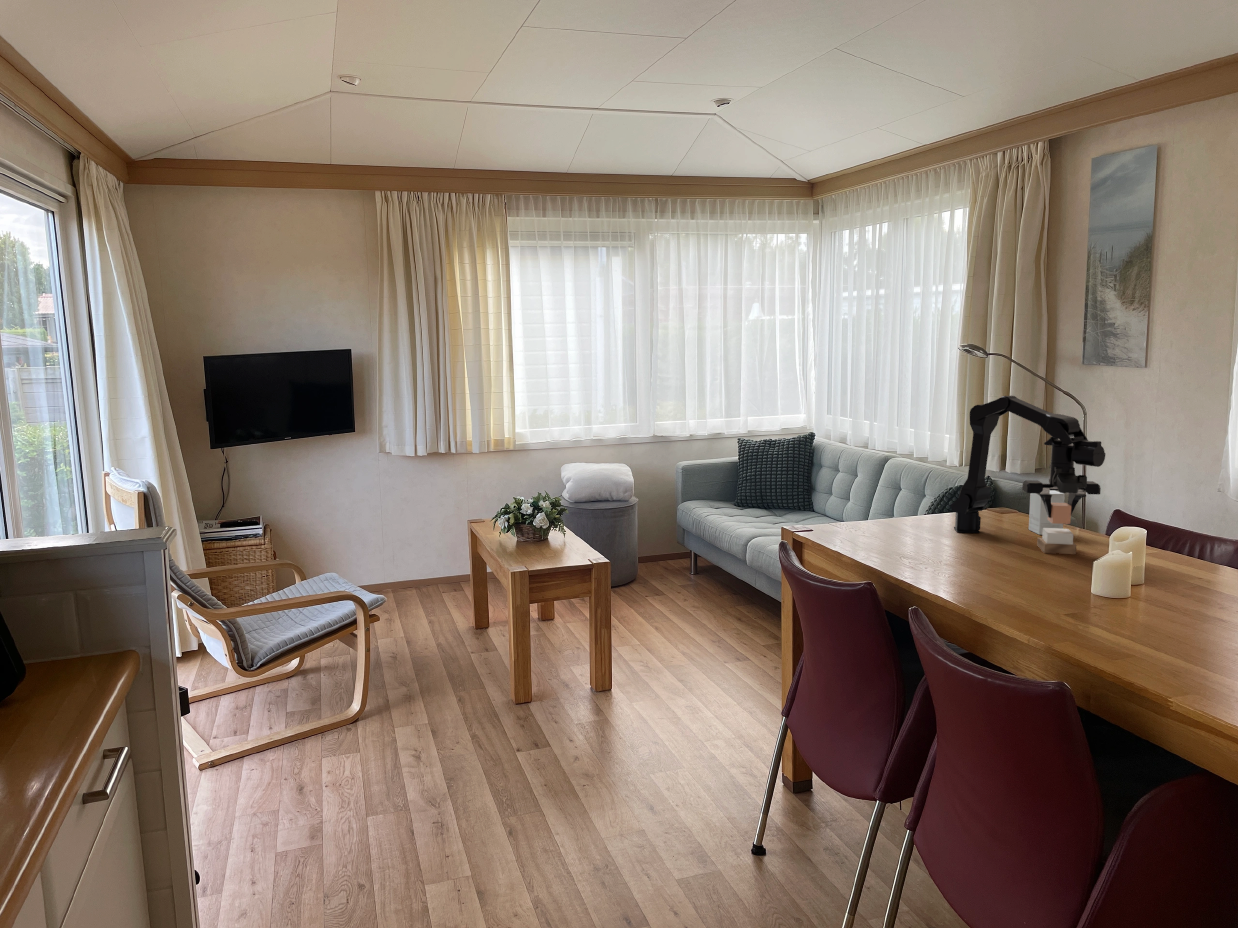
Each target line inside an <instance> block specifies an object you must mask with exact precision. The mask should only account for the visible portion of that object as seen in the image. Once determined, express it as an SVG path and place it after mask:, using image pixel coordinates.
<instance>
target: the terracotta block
mask: <svg viewBox="0 0 1238 928" xmlns="http://www.w3.org/2000/svg"><path fill="white" fill-rule="evenodd" d="M1071 517H1072V515H1071V506H1070V505H1069V504H1068V502H1064V503H1051V518H1049V517H1048V521H1050V522H1051V523H1056V524H1063V525H1064V524H1065V525H1066V524H1067V525H1070V524H1071Z"/></svg>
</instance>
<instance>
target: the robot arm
mask: <svg viewBox="0 0 1238 928" xmlns="http://www.w3.org/2000/svg"><path fill="white" fill-rule="evenodd" d="M1008 412H1009V413H1011V414H1014V415H1016V416H1017V417H1020V418H1022V419H1025V420H1027V421H1029V422H1031V423H1034V424H1036V425H1037V426H1039V427H1041V428H1042V430H1043V431H1044V432H1045V433H1047V434H1048V435H1050V437H1049V439H1047V440H1046V441H1045V442H1044V443H1043V444H1044V445H1045V446H1049V447H1050V446H1051V453H1050V464H1049V469H1050V471H1049V473H1050V474H1049V479H1048V483H1043V482H1041V481H1039V480H1034V479H1033V480H1029V479H1028V480H1027V479H1026V480H1023V482H1022V488H1021V490H1022V491H1024V492H1025V493H1026V494H1030V493H1036V494H1038V495H1039V496H1040V497H1041V499H1042V501H1043V503H1044V506H1045V509H1046V512H1047V515H1048V517H1049V518H1051V497H1052V495H1051V494H1050V490H1055V491H1058V492H1060V493H1064V494H1067V493H1068V497H1067V498H1068V499H1067V504H1069V505H1070V506H1071V516H1072V514H1073V512H1074V511H1075V508H1076V506H1077V504H1078V503H1079V501H1080V500H1081V499H1082V498H1086V497H1087V495H1101V490H1102V489H1101V485H1100V484H1099V483H1097V482H1095V481H1091V480H1089V481H1088V477H1087V475H1085V474H1078V475H1076V470H1075V469H1076V467H1075V464H1076V465H1078V466H1079V465H1080V466H1087V467H1097V468H1099V467H1101V466H1102V465H1103V464H1104V462H1105V460H1106V452H1105V449H1104V446H1102V441H1101V440H1100V441H1099V440H1093V441H1091V440H1089V439H1088V438H1087V436H1086V434H1085V433H1084V431H1083V429H1082V428H1081V424H1080V422H1079V420H1078V419H1077V418H1076V417H1074V416H1069V415H1065V414H1060V413H1053V412H1049V411H1047V410H1045V409H1042V408H1041V407H1039V406H1036V405H1034V404H1032V403H1029V402H1028V401H1024V400H1022V399H1020V398H1018V397H1017V396H1015V395H1004V396H1003V395H1002V396H1001V397H998V398H997V399H994V400H992V401H988V402H986V403H983V404H982V403H981V404H976V405H974V406H972V407H971V408H970V410H969V426H970V427H971V430H972V440H971V449H970V457H969V462H968V463H969V465H968V470H967V472H968V473H967V478H966V480H965V482H964V483H963V485H962V486H961V488H960V491H959V495H958V498H957V499H956V500H954V501H953V502H952V503H951V505H950V508H951V512H952V513H955V519H954V520H955V522H954V526H953V529H954V530H955V532H957V533H967V534H970V533H971V534H973V533H975V534H980V530H981V520H982V519H981V516H980V512H983V511H984V507H985V505H987V504H988V502H989V500H991V491H992V486H988V485H987V482H986V472H987V464H988V457H989V452H990V451H989V449H990V443H991V437H992V436H991V435H992V433H993V432H994V430H995V429H996V427H997V425H998V424H999V419H1000V417H1001V416H1003V415H1006V414H1007V413H1008ZM1086 493H1087V494H1086Z"/></svg>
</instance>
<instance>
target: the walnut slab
mask: <svg viewBox="0 0 1238 928" xmlns="http://www.w3.org/2000/svg"><path fill="white" fill-rule="evenodd" d="M1036 538H1037V542H1036V547H1037V546H1038V547H1039V548H1040V549H1041V550H1040V551H1041V552H1042V553H1044V554H1056V553H1059V554H1062V555H1076V554H1077V544H1076V543H1074V542H1073V545H1070V544H1047V543H1046V542H1045V541H1044V540H1043V539H1042V537H1040V536H1039V537H1036ZM1038 547H1037V548H1038ZM1039 548H1038V549H1039Z"/></svg>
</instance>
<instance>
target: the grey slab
mask: <svg viewBox="0 0 1238 928" xmlns="http://www.w3.org/2000/svg"><path fill="white" fill-rule="evenodd" d="M1041 538H1042V539H1043V540H1044V541H1045V542H1046V543H1047V544H1070V545H1073V543H1074V533H1073V532H1072V531H1071V530H1070V529H1069V528H1063V529H1059V528H1043V532H1042V535H1041Z"/></svg>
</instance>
